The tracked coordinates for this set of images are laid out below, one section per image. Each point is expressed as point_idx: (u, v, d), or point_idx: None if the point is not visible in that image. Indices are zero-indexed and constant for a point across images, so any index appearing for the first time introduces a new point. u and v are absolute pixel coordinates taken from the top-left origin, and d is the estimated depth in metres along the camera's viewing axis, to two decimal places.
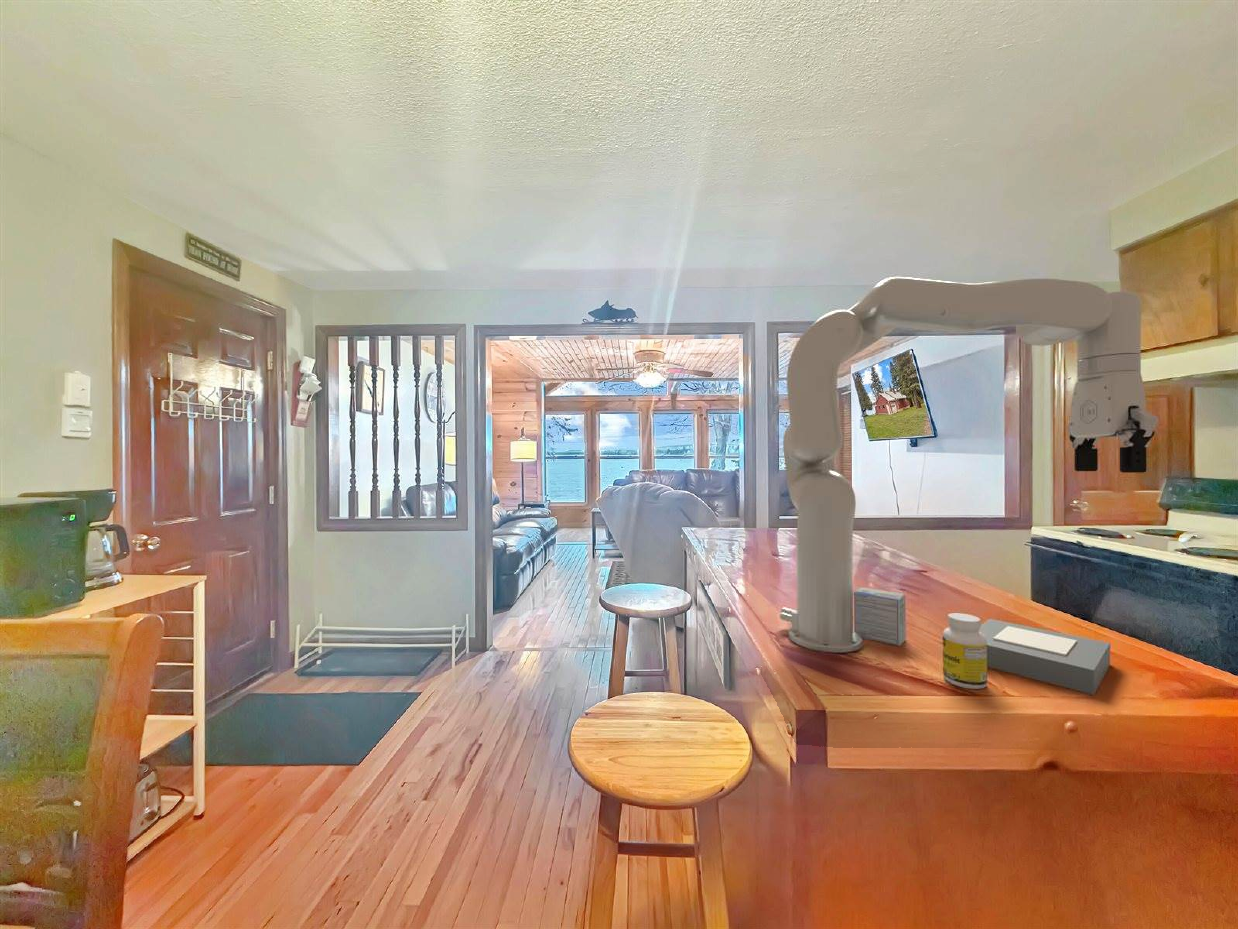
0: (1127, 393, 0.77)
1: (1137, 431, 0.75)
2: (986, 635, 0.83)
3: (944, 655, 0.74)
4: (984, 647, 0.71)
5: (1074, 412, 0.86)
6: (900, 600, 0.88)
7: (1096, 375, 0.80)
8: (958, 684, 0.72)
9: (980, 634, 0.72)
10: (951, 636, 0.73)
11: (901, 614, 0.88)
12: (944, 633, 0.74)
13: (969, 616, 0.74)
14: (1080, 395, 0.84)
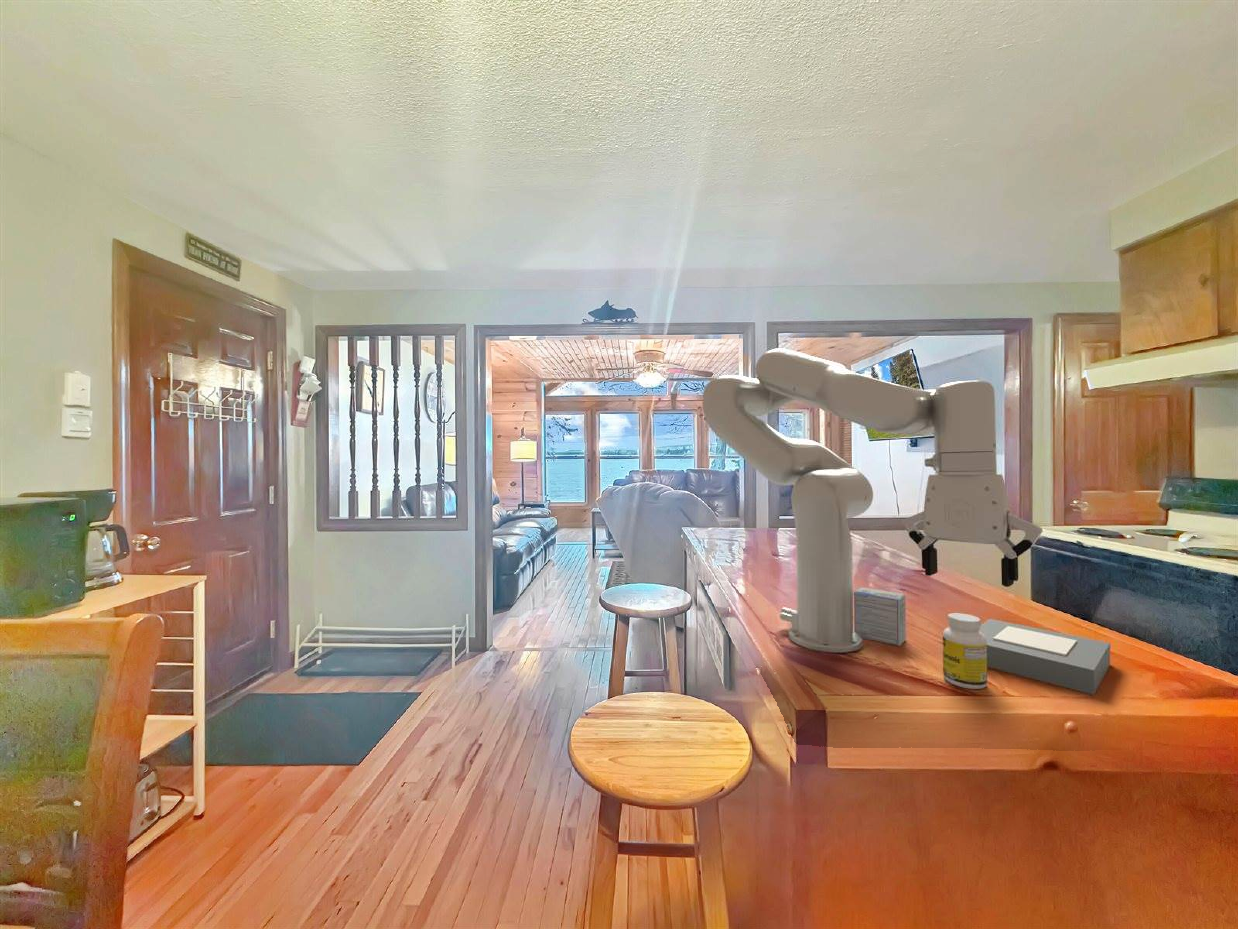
0: (1005, 497, 0.69)
1: (1024, 542, 0.67)
2: (986, 635, 0.83)
3: (944, 655, 0.74)
4: (984, 647, 0.71)
5: (933, 510, 0.74)
6: (900, 600, 0.88)
7: (975, 473, 0.70)
8: (958, 684, 0.72)
9: (980, 634, 0.72)
10: (951, 636, 0.73)
11: (901, 614, 0.88)
12: (944, 633, 0.74)
13: (969, 616, 0.74)
14: (944, 492, 0.73)
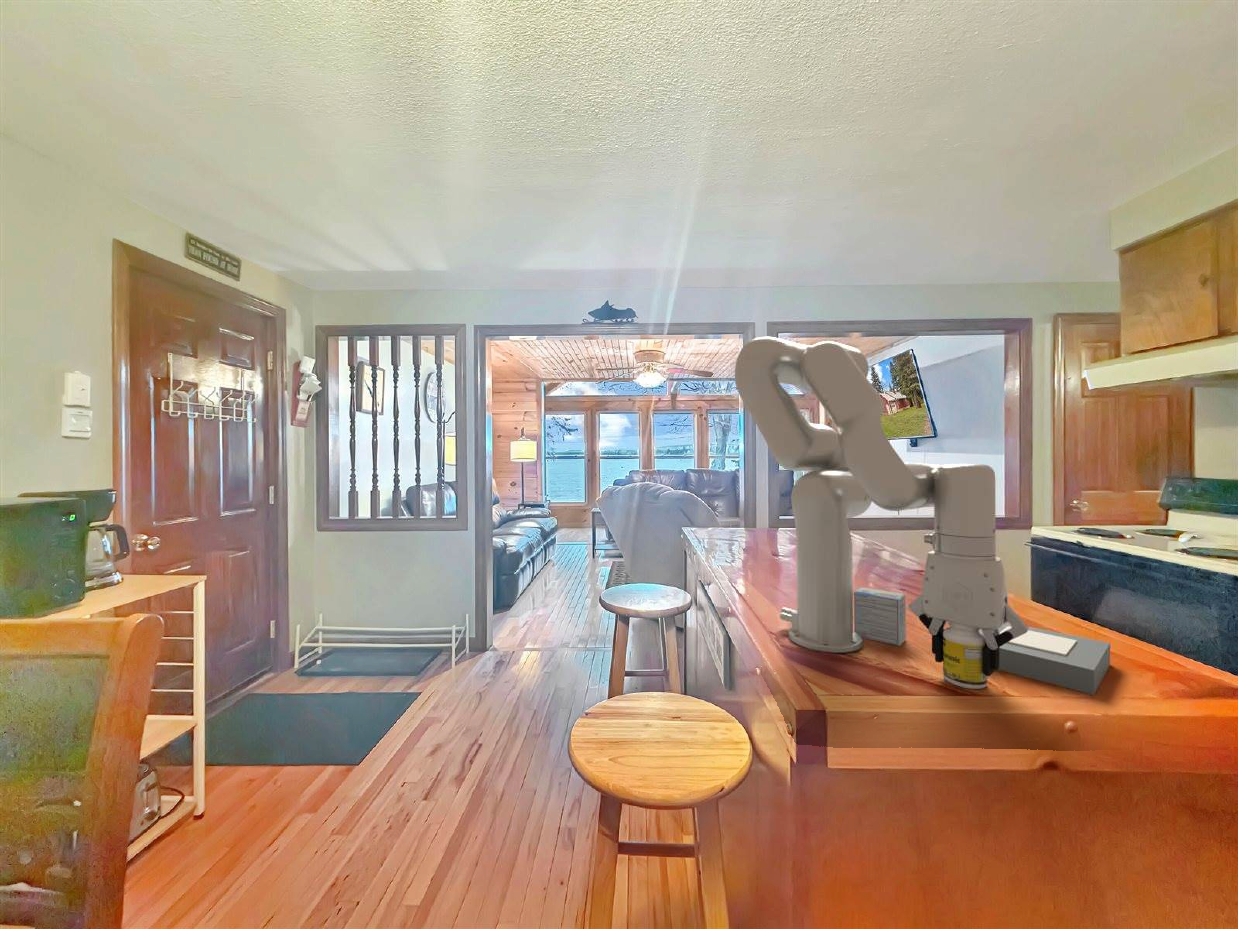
0: (1003, 584, 0.69)
1: (1005, 635, 0.69)
2: None
3: (944, 655, 0.74)
4: None
5: (932, 589, 0.74)
6: (900, 600, 0.88)
7: (974, 559, 0.70)
8: (958, 684, 0.72)
9: (980, 634, 0.72)
10: (951, 636, 0.73)
11: (901, 614, 0.88)
12: (944, 633, 0.74)
13: None
14: (943, 573, 0.73)
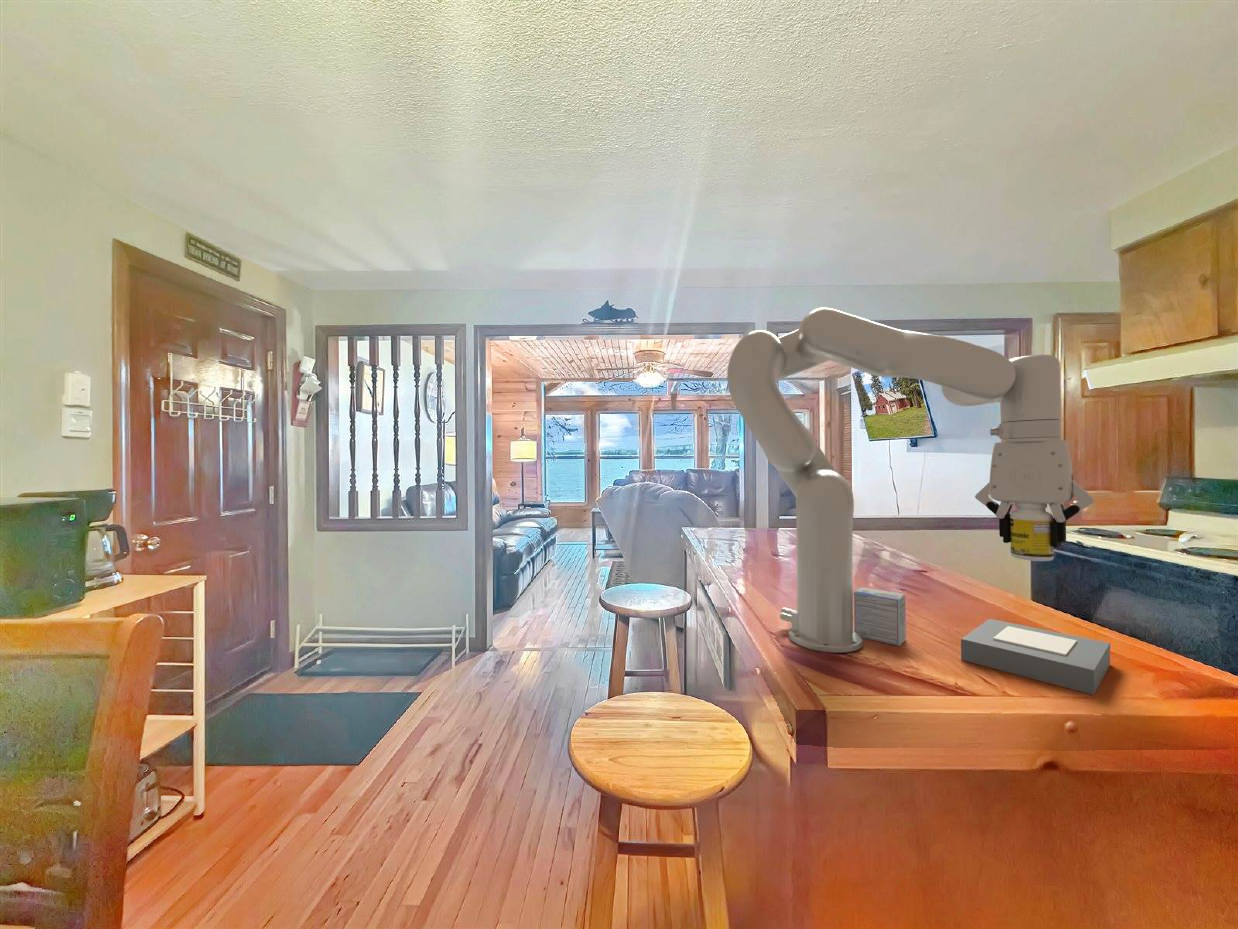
0: (1070, 461, 0.75)
1: (1073, 507, 0.75)
2: (986, 635, 0.83)
3: (1012, 535, 0.80)
4: None
5: (999, 475, 0.81)
6: (900, 600, 0.88)
7: (1041, 439, 0.76)
8: (1027, 558, 0.78)
9: (1047, 512, 0.78)
10: (1020, 515, 0.79)
11: (901, 614, 0.88)
12: (1012, 514, 0.80)
13: None
14: (1010, 458, 0.79)
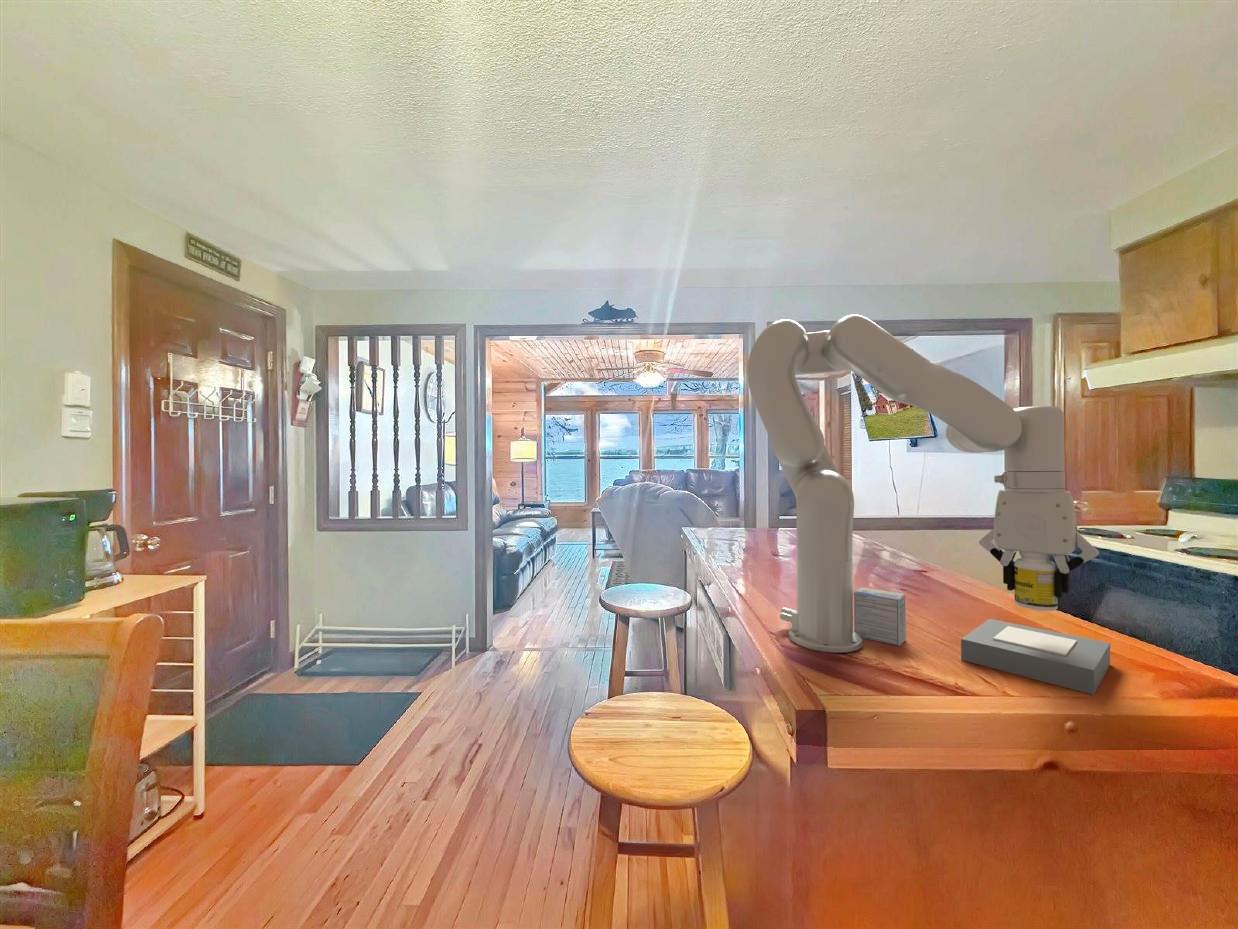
0: (1074, 513, 0.76)
1: (1077, 559, 0.75)
2: (986, 635, 0.83)
3: (1016, 583, 0.81)
4: (1055, 572, 0.78)
5: (1004, 523, 0.81)
6: (900, 600, 0.88)
7: (1046, 491, 0.77)
8: (1031, 607, 0.78)
9: (1051, 561, 0.79)
10: (1024, 564, 0.79)
11: (901, 614, 0.88)
12: (1016, 563, 0.81)
13: None
14: (1015, 507, 0.80)
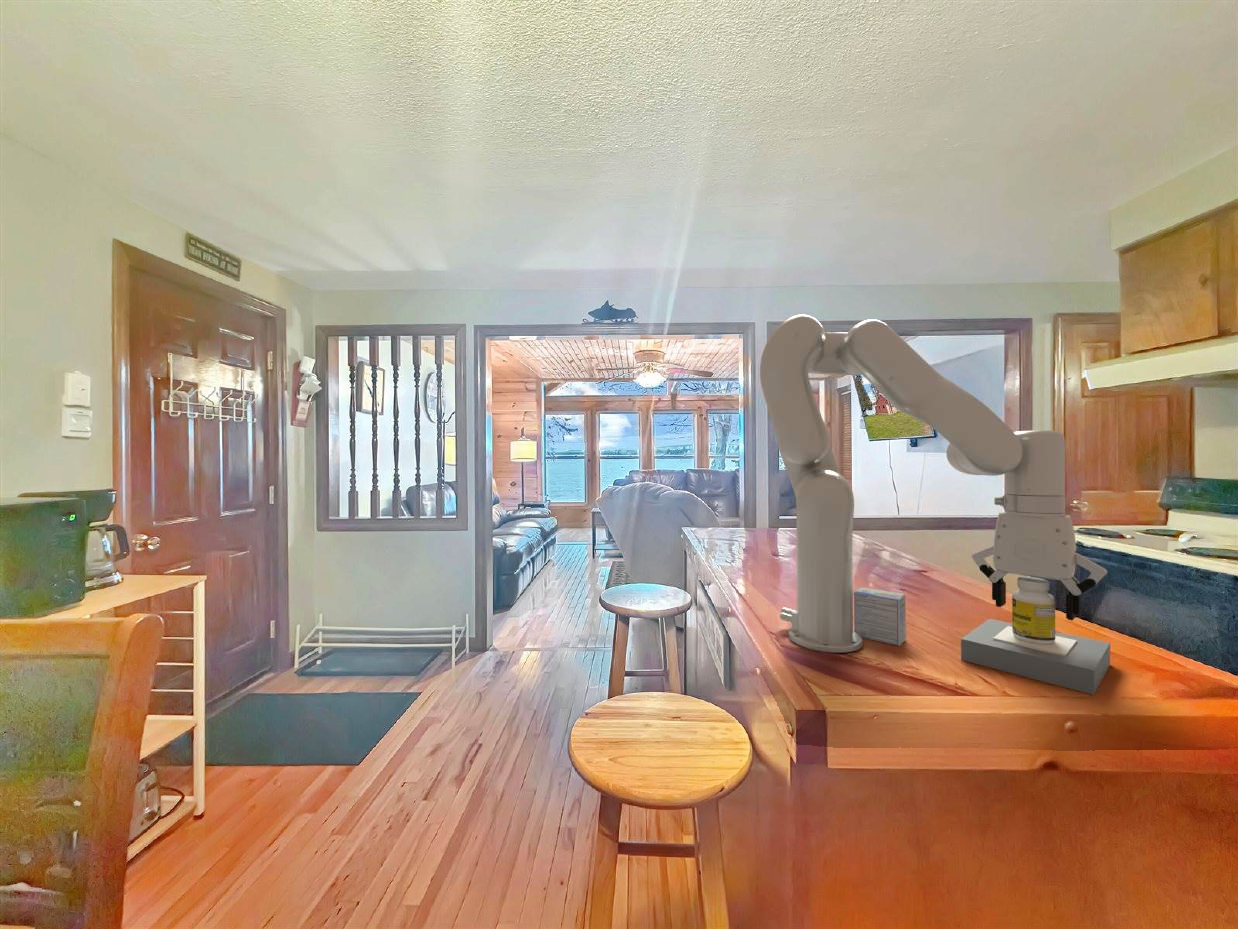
0: (1074, 538, 0.76)
1: (1089, 581, 0.74)
2: (986, 635, 0.83)
3: (1014, 615, 0.81)
4: (1053, 606, 0.78)
5: (1003, 546, 0.81)
6: (900, 600, 0.88)
7: (1046, 515, 0.77)
8: (1029, 640, 0.79)
9: (1049, 594, 0.79)
10: (1022, 597, 0.79)
11: (901, 614, 0.88)
12: (1014, 595, 0.81)
13: (1037, 579, 0.80)
14: (1015, 530, 0.80)
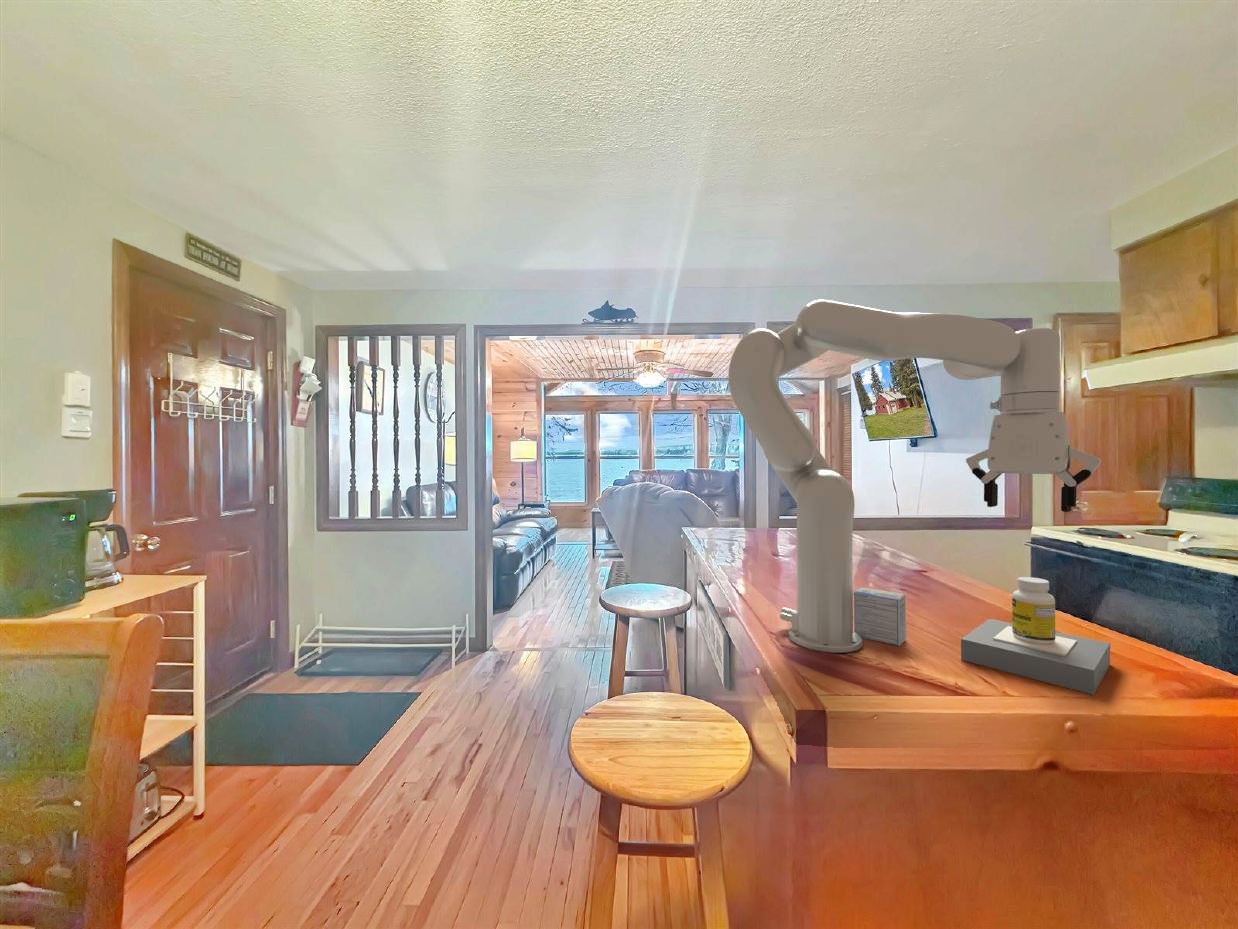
0: (1067, 432, 0.77)
1: (1084, 471, 0.75)
2: (986, 635, 0.83)
3: (1014, 615, 0.81)
4: (1053, 606, 0.78)
5: (998, 446, 0.82)
6: (900, 600, 0.88)
7: (1040, 411, 0.78)
8: (1029, 640, 0.79)
9: (1049, 594, 0.79)
10: (1022, 597, 0.79)
11: (901, 614, 0.88)
12: (1014, 595, 0.81)
13: (1037, 579, 0.80)
14: (1009, 429, 0.81)
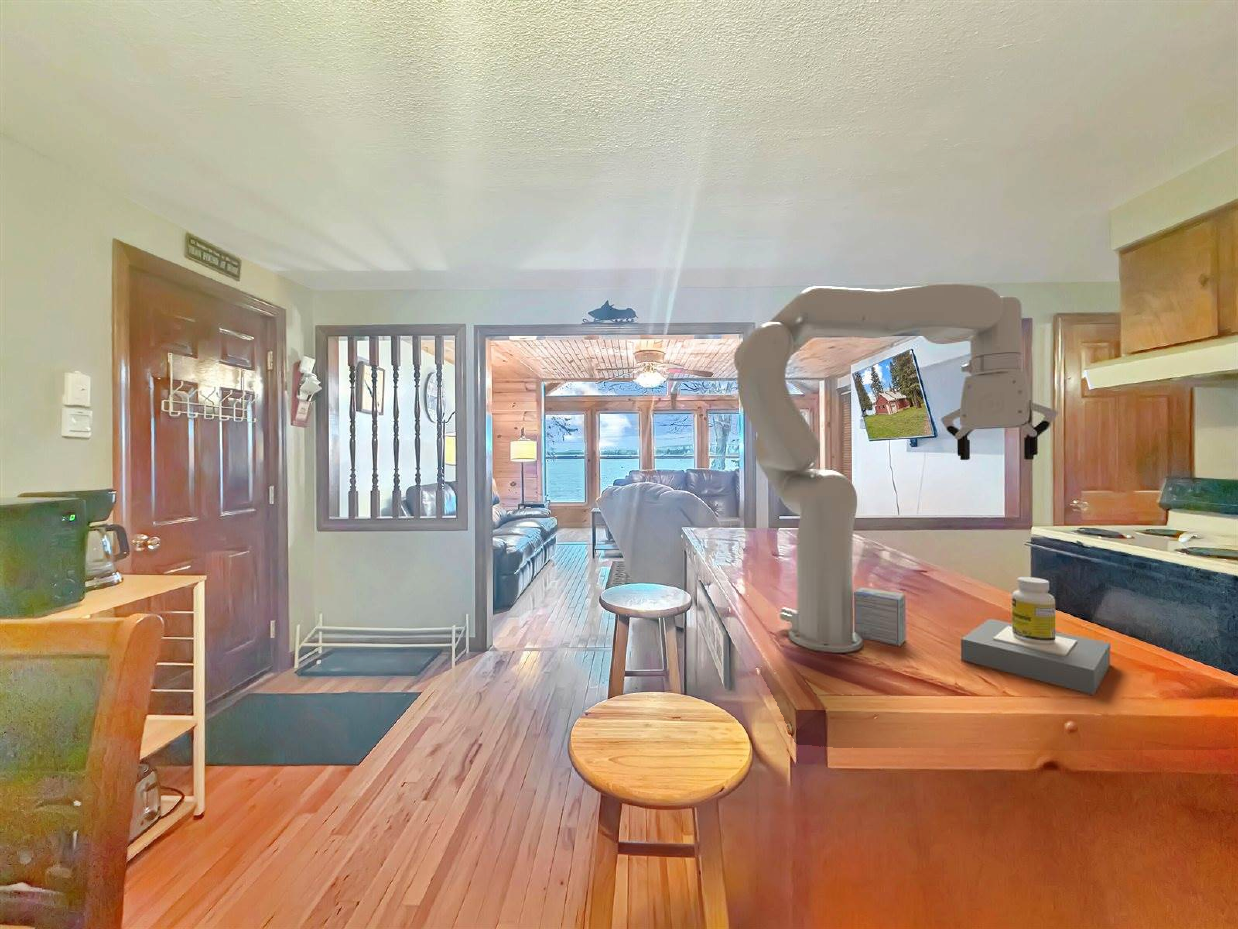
0: (1028, 388, 0.86)
1: (1043, 422, 0.84)
2: (986, 635, 0.83)
3: (1014, 615, 0.81)
4: (1053, 606, 0.78)
5: (969, 404, 0.91)
6: (900, 600, 0.88)
7: (1004, 370, 0.87)
8: (1029, 640, 0.79)
9: (1049, 594, 0.79)
10: (1022, 597, 0.79)
11: (901, 614, 0.88)
12: (1014, 595, 0.81)
13: (1037, 579, 0.80)
14: (978, 388, 0.90)
